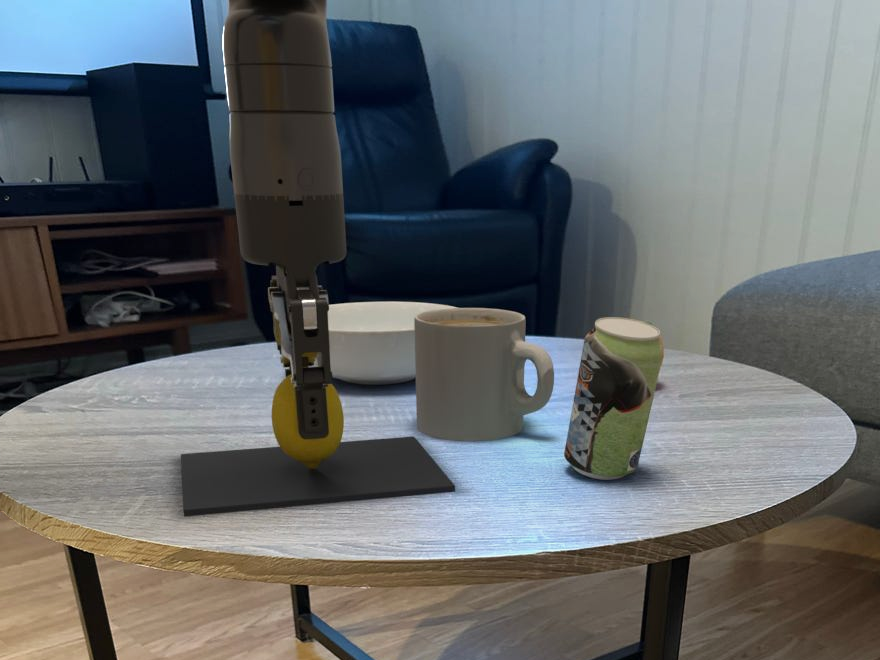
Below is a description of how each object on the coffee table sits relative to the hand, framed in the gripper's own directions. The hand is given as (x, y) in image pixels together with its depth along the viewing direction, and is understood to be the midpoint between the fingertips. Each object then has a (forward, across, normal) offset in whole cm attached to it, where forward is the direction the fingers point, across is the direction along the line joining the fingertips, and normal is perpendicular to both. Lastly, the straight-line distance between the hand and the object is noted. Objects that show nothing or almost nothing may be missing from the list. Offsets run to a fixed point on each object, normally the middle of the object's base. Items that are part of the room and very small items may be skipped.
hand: (308, 425), depth 73 cm
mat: (+4, 0, 0) cm, 4 cm away
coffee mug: (+4, -9, +17) cm, 20 cm away
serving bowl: (+4, -34, +12) cm, 36 cm away
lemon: (+4, 0, 0) cm, 4 cm away
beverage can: (+4, +6, +23) cm, 24 cm away
